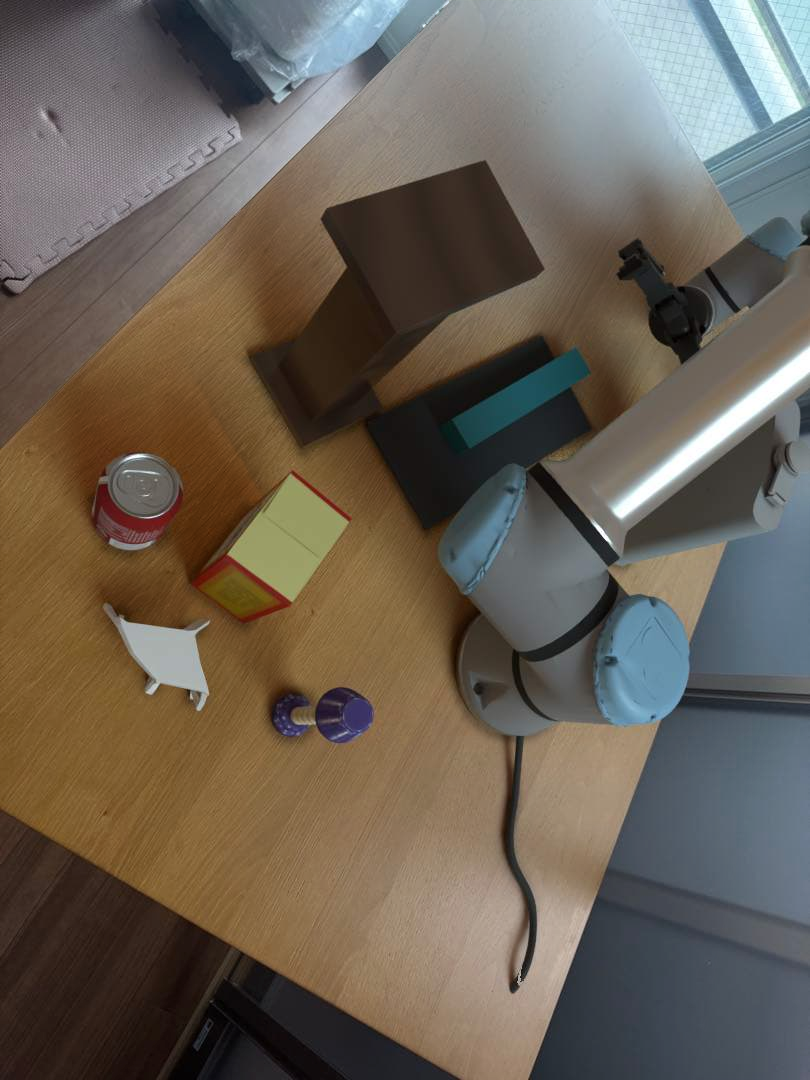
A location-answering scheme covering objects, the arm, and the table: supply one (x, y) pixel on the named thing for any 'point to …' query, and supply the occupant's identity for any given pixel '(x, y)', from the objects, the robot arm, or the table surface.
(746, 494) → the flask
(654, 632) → the robot arm
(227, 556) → the baking soda box
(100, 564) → the table surface
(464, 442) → the block
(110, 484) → the soda can
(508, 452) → the mat
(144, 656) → the white flat legged piece
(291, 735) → the toy lamp
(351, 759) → the table surface
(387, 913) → the table surface
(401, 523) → the table surface
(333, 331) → the stand
